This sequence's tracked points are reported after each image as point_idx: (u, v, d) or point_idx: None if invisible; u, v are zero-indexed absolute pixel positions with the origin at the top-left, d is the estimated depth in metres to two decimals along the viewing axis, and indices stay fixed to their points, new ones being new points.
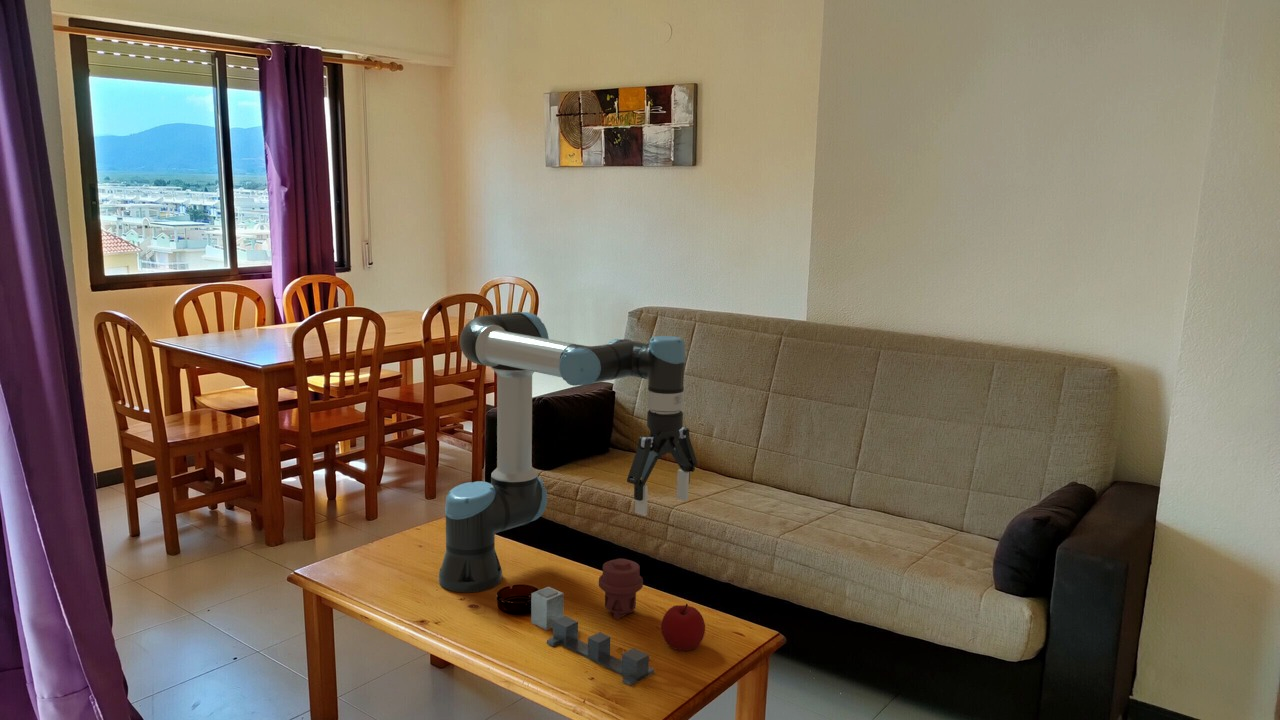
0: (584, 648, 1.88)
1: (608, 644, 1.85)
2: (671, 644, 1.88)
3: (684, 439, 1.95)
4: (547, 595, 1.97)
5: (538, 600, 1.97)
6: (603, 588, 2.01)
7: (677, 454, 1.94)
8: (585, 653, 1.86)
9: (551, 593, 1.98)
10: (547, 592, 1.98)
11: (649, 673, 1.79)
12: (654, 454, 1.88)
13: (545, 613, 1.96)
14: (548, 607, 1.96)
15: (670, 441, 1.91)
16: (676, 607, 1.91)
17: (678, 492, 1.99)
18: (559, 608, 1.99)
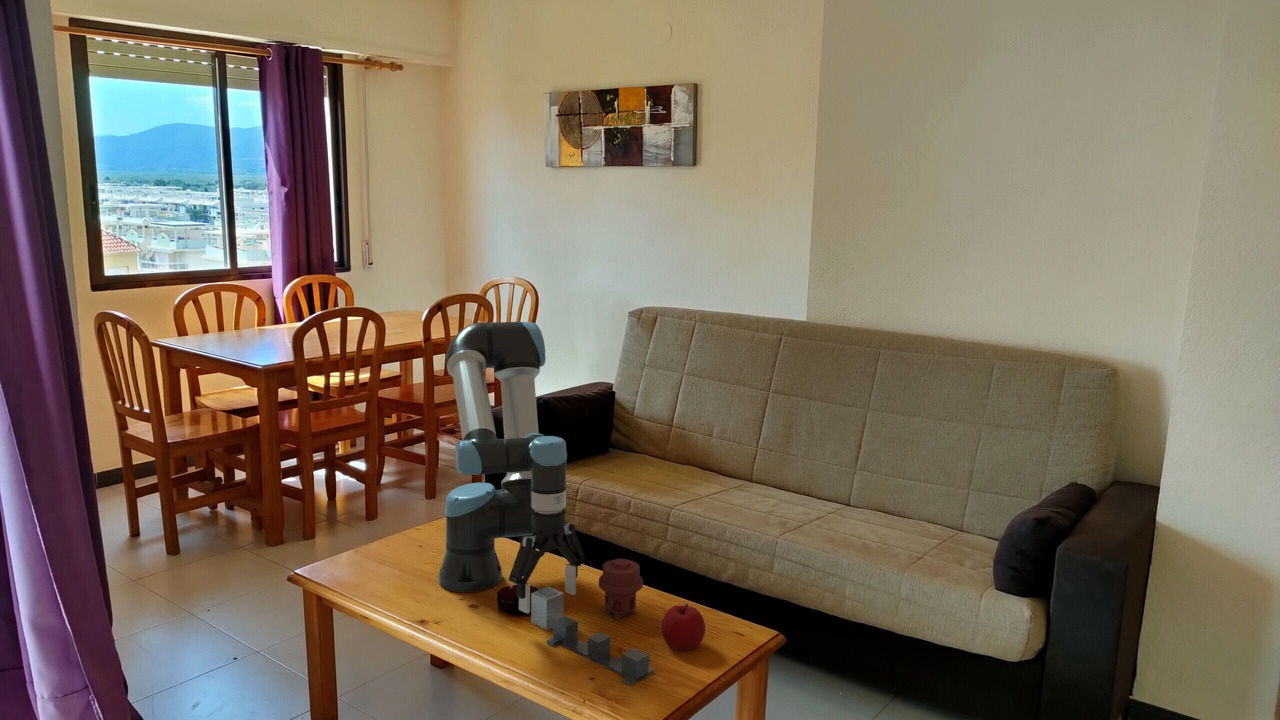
0: (584, 648, 1.88)
1: (608, 644, 1.85)
2: (671, 644, 1.88)
3: (570, 535, 2.00)
4: (547, 595, 1.97)
5: (538, 600, 1.97)
6: (603, 588, 2.01)
7: (562, 550, 1.99)
8: (585, 653, 1.86)
9: (551, 593, 1.98)
10: (547, 592, 1.98)
11: (649, 673, 1.79)
12: (536, 552, 1.93)
13: (545, 613, 1.96)
14: (549, 607, 1.96)
15: (554, 538, 1.96)
16: (676, 607, 1.91)
17: (566, 585, 2.04)
18: (559, 608, 1.99)
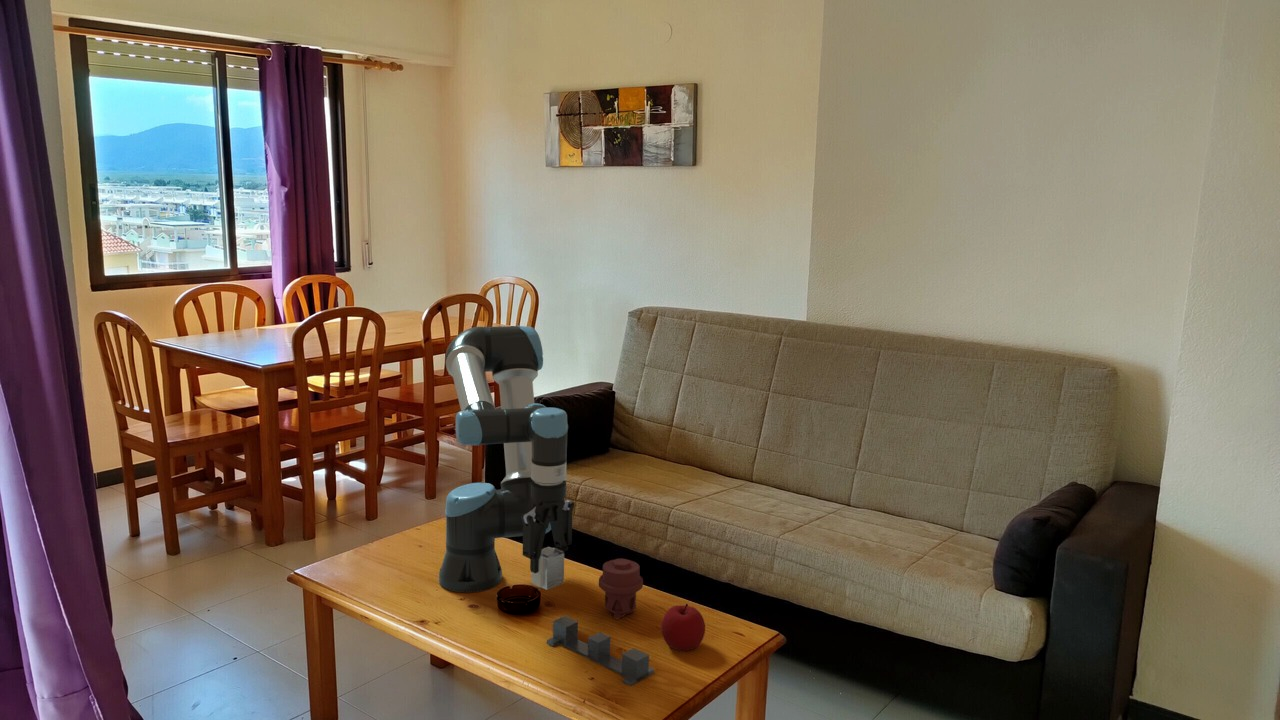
0: (584, 648, 1.88)
1: (608, 644, 1.85)
2: (671, 644, 1.88)
3: (567, 512, 1.99)
4: (547, 555, 1.96)
5: None
6: (603, 588, 2.01)
7: (556, 526, 1.97)
8: (585, 653, 1.86)
9: (552, 552, 1.97)
10: (548, 552, 1.97)
11: (649, 673, 1.79)
12: (541, 526, 1.94)
13: (546, 572, 1.95)
14: (549, 567, 1.95)
15: (554, 508, 1.95)
16: (676, 607, 1.91)
17: None
18: (560, 568, 1.98)
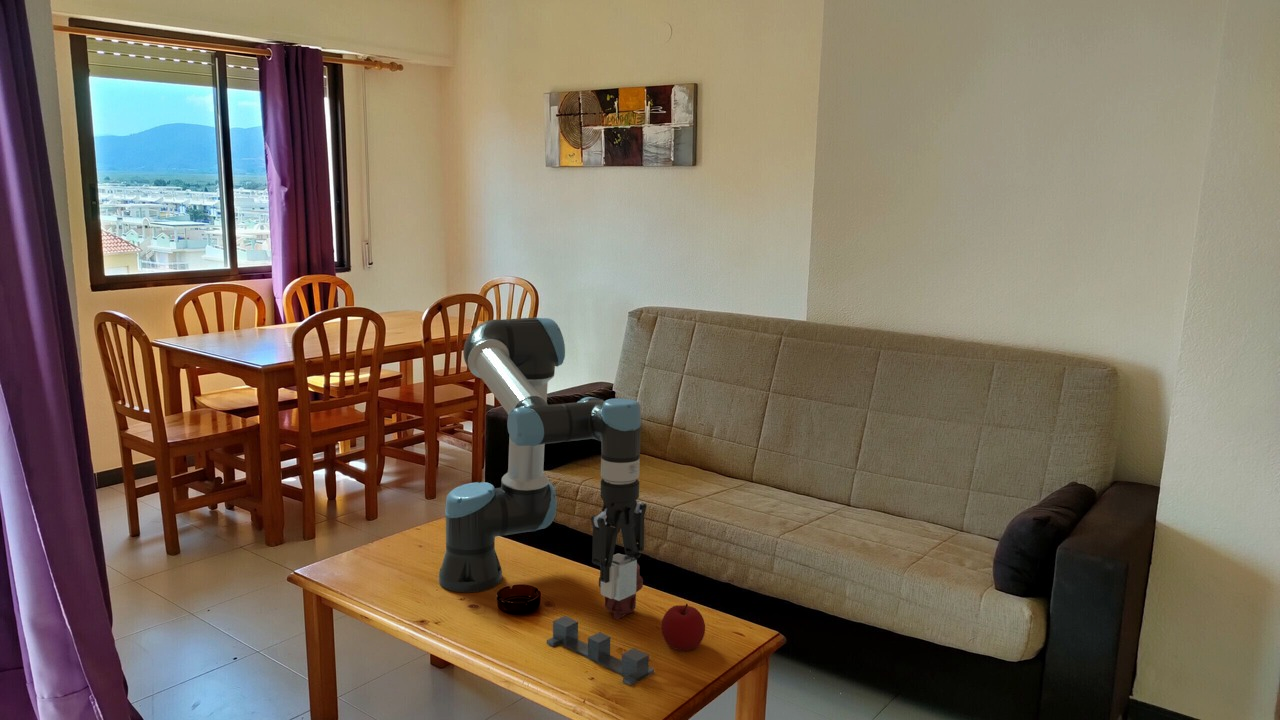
0: (584, 648, 1.88)
1: (608, 644, 1.85)
2: (671, 644, 1.88)
3: (638, 515, 1.80)
4: (619, 561, 1.76)
5: None
6: None
7: (627, 531, 1.78)
8: (585, 653, 1.86)
9: (623, 559, 1.77)
10: (619, 559, 1.78)
11: (649, 673, 1.79)
12: (612, 530, 1.75)
13: (617, 581, 1.75)
14: (621, 575, 1.75)
15: (626, 510, 1.76)
16: (676, 607, 1.91)
17: None
18: (632, 576, 1.78)
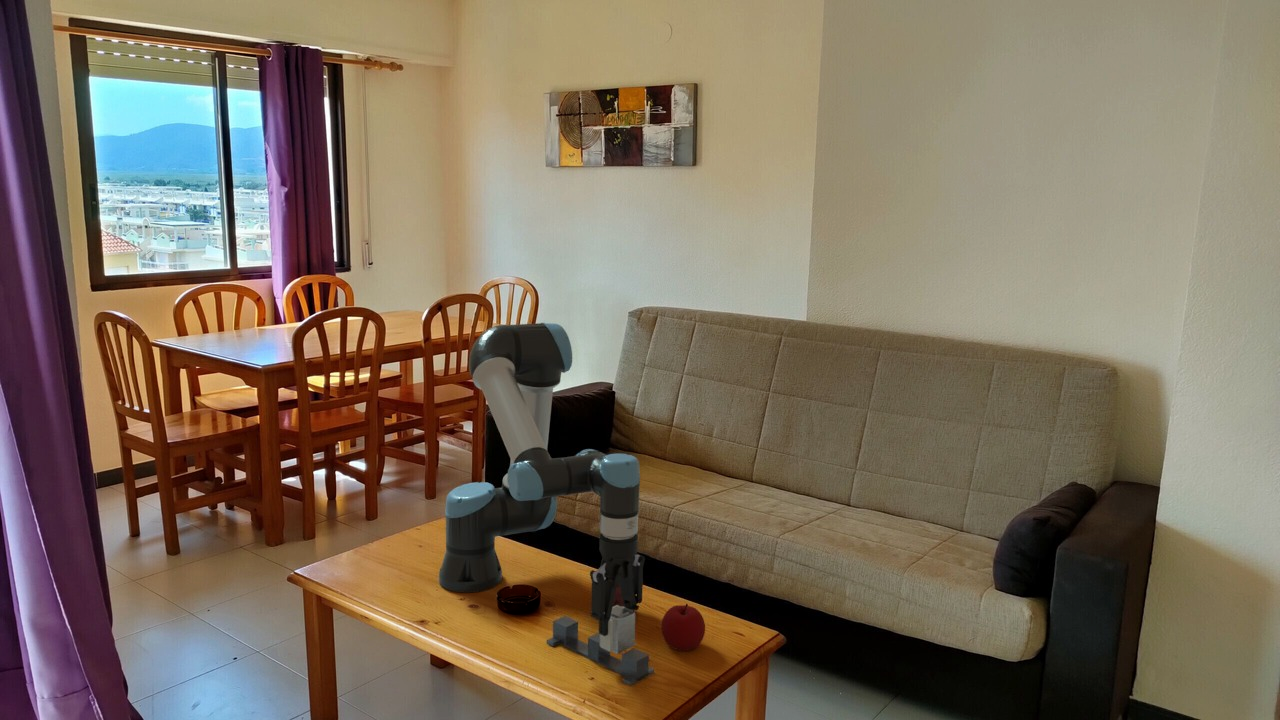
0: (584, 648, 1.88)
1: None
2: (671, 644, 1.88)
3: (637, 567, 1.82)
4: (618, 615, 1.78)
5: None
6: None
7: (626, 584, 1.80)
8: (585, 653, 1.86)
9: (622, 612, 1.79)
10: (617, 611, 1.80)
11: (649, 673, 1.79)
12: (611, 585, 1.77)
13: (616, 635, 1.77)
14: (620, 628, 1.77)
15: (624, 564, 1.78)
16: (676, 607, 1.91)
17: None
18: (630, 629, 1.80)
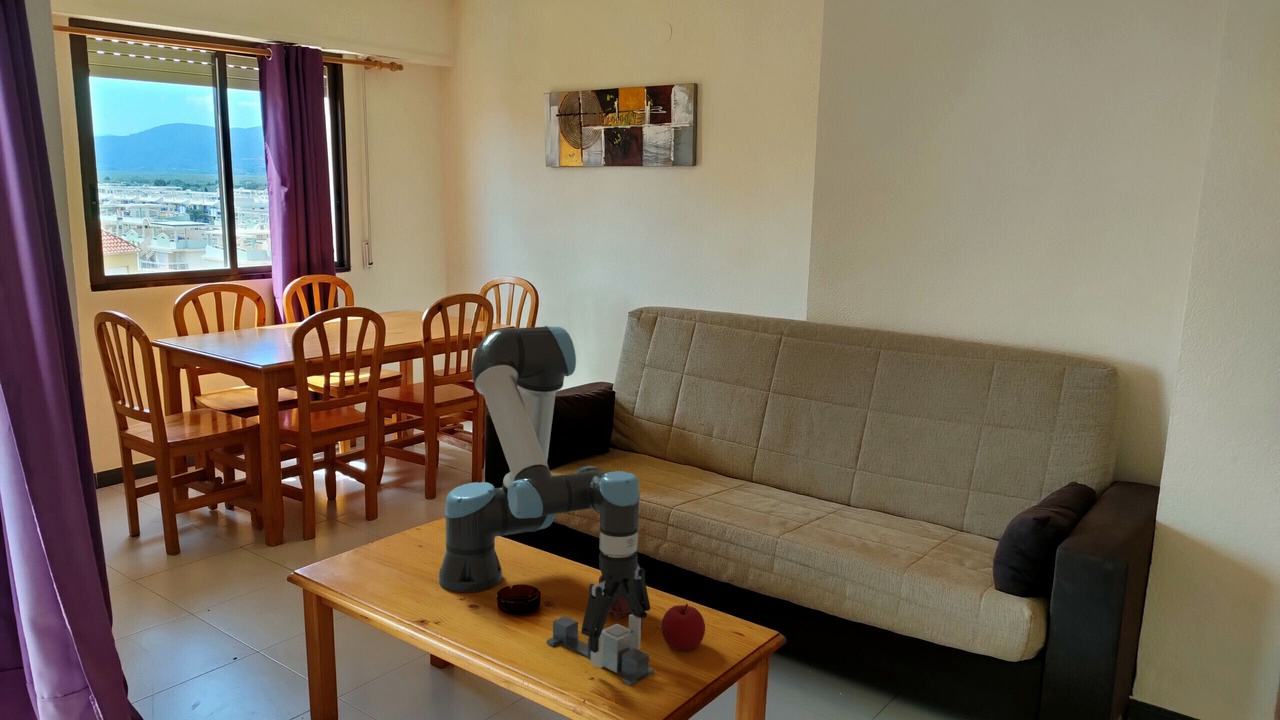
0: (584, 648, 1.88)
1: None
2: (671, 644, 1.88)
3: (639, 580, 1.83)
4: (617, 634, 1.79)
5: (607, 639, 1.79)
6: None
7: (630, 597, 1.82)
8: (585, 653, 1.86)
9: (621, 631, 1.80)
10: (617, 631, 1.80)
11: (649, 673, 1.79)
12: (607, 601, 1.76)
13: (615, 654, 1.78)
14: (619, 648, 1.78)
15: (624, 582, 1.79)
16: (676, 607, 1.91)
17: None
18: (630, 648, 1.81)
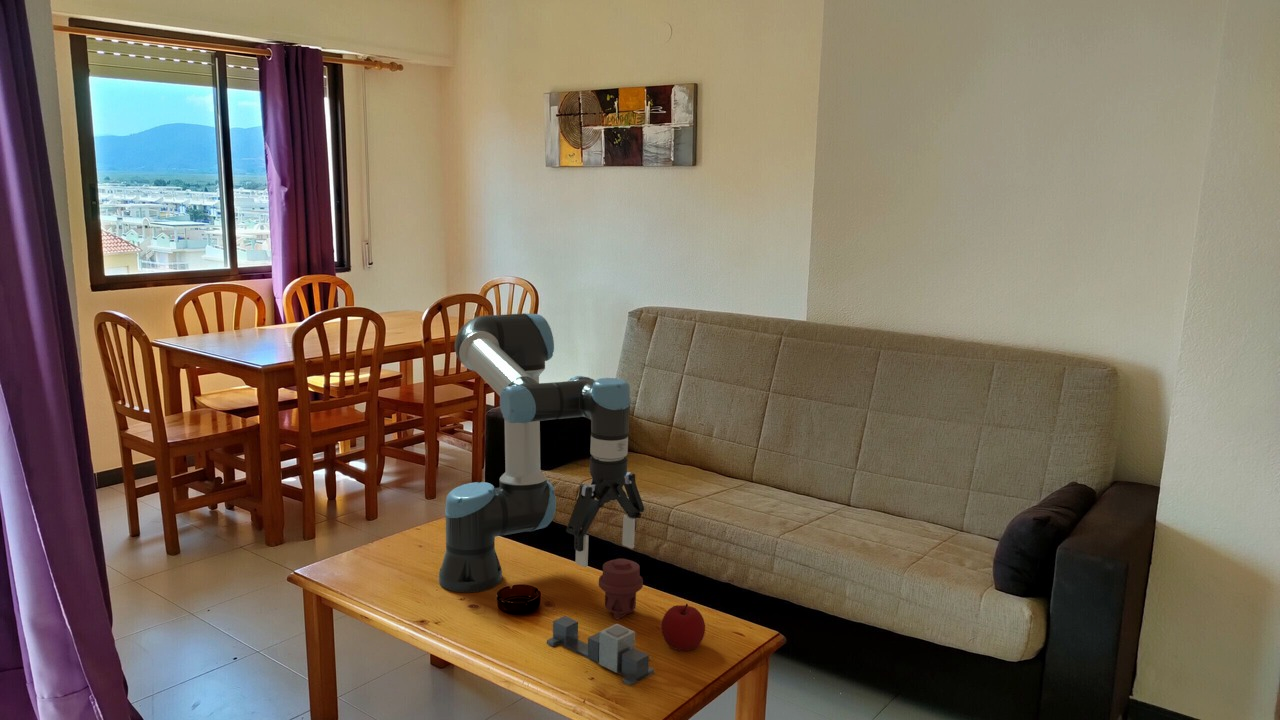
0: (584, 648, 1.88)
1: None
2: (671, 644, 1.88)
3: (630, 485, 1.86)
4: (617, 634, 1.79)
5: (607, 639, 1.79)
6: (603, 588, 2.01)
7: (622, 501, 1.85)
8: (585, 653, 1.86)
9: (621, 631, 1.80)
10: (617, 631, 1.80)
11: (649, 673, 1.79)
12: (596, 502, 1.79)
13: (615, 654, 1.78)
14: (619, 648, 1.78)
15: (614, 488, 1.82)
16: (676, 607, 1.91)
17: (624, 538, 1.90)
18: (630, 648, 1.81)
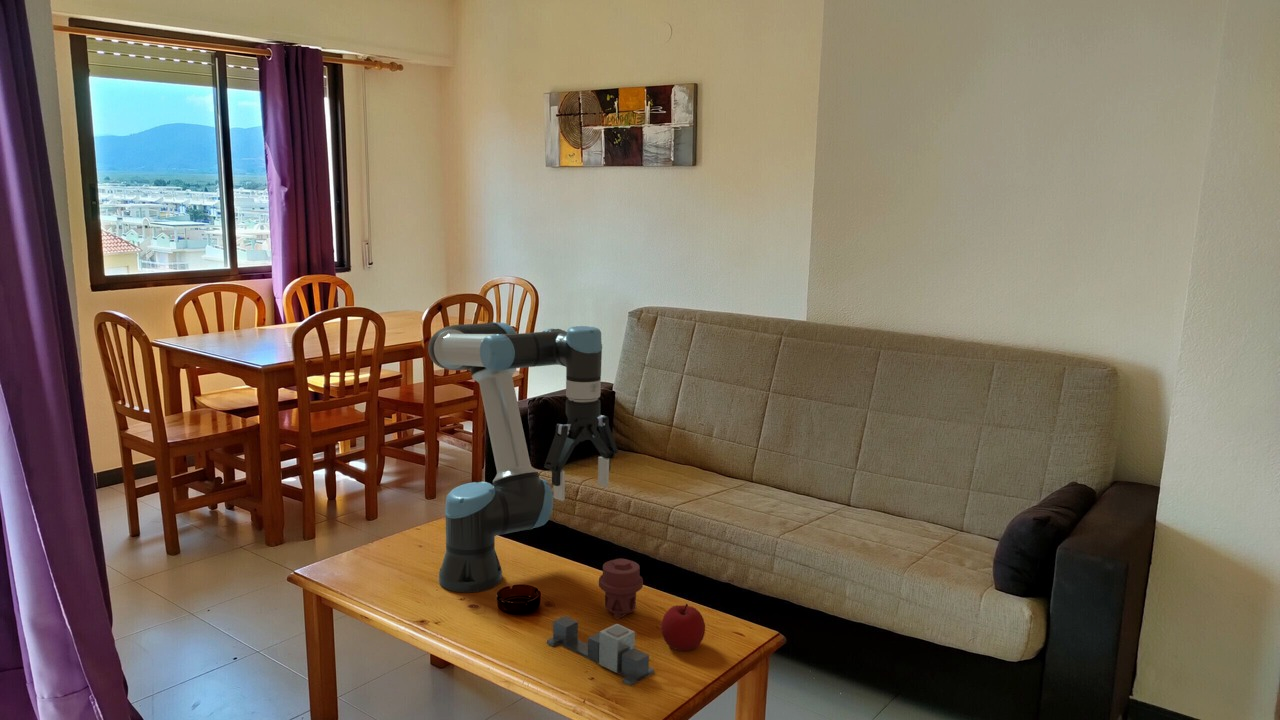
0: (584, 648, 1.88)
1: None
2: (671, 644, 1.88)
3: (603, 427, 2.01)
4: (617, 634, 1.79)
5: (607, 639, 1.79)
6: (603, 588, 2.01)
7: (596, 441, 2.00)
8: (585, 653, 1.86)
9: (621, 631, 1.80)
10: (617, 631, 1.80)
11: (649, 673, 1.79)
12: (571, 441, 1.94)
13: (615, 654, 1.78)
14: (619, 648, 1.78)
15: (588, 428, 1.97)
16: (676, 607, 1.91)
17: (599, 478, 2.05)
18: (630, 648, 1.81)
